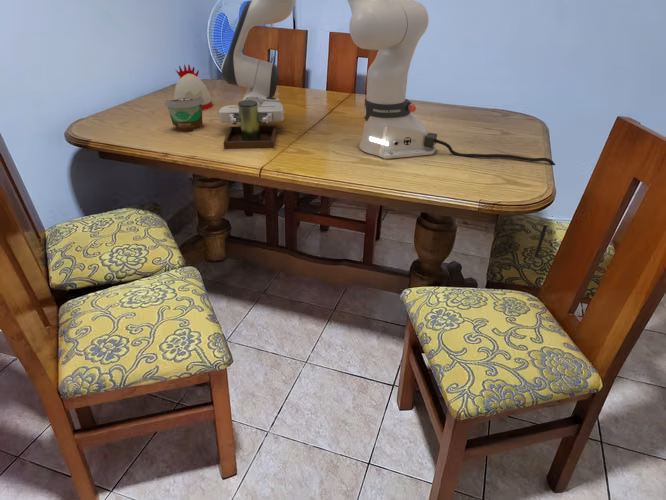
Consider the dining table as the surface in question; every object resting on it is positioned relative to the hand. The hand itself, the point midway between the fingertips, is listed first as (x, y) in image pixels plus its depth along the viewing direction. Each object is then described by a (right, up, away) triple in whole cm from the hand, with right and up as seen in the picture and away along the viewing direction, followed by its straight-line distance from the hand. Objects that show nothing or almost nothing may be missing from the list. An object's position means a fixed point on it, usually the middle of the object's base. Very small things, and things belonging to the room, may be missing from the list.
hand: (249, 121), depth 139 cm
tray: (0, -5, +4) cm, 7 cm away
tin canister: (0, -5, +4) cm, 6 cm away
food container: (-23, +1, +14) cm, 27 cm away
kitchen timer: (-28, +16, +37) cm, 49 cm away
